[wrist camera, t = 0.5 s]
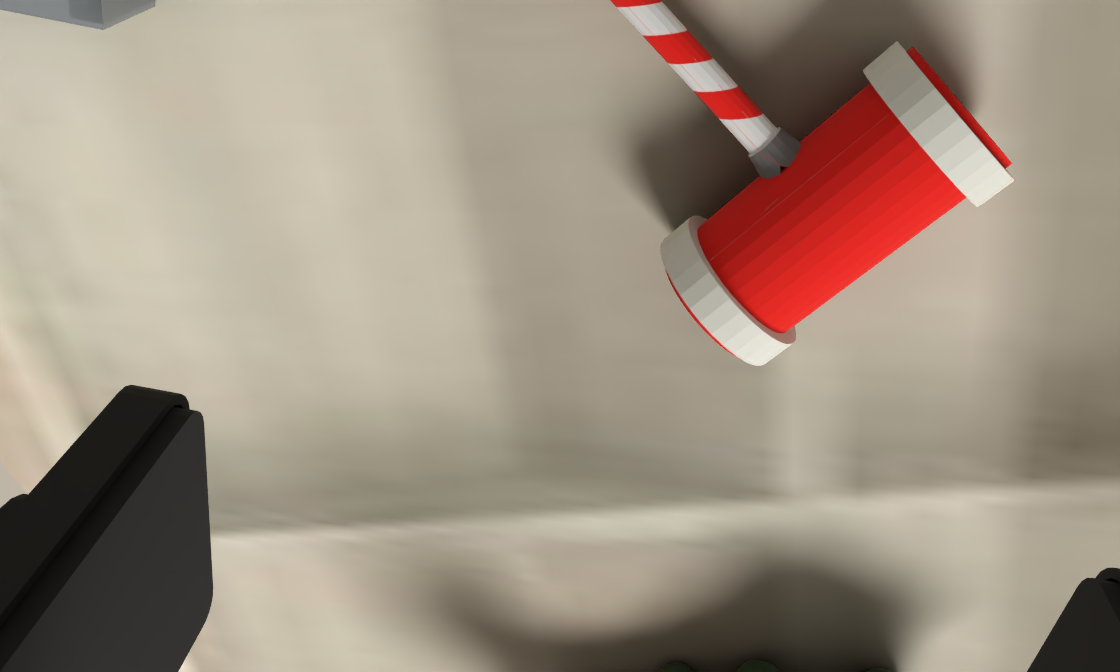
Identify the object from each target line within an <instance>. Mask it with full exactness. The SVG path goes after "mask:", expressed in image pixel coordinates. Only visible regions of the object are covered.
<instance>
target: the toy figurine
mask: <svg viewBox="0 0 1120 672" xmlns="http://www.w3.org/2000/svg"><path fill="white" fill-rule="evenodd" d="M661 672H692V671H691V670H690V669H689V668H688V666H686V665H685V664H684V663H677V662H671V663H669V664H668V665H666V666H664V667H662V669H661ZM737 672H778V670H777V668H776V667H775V666H773V665H772V664H770V663H767V662H764V661H762V660H759V659H755V660H750V661H745V662H744V663H743V664H742V666H741V667H740V668H739V669H738V671H737ZM864 672H893V671H892V670H888V669H883V668H874V669H870V670H866V671H864Z"/></svg>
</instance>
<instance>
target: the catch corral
mask: <svg viewBox="0 0 1120 672" xmlns="http://www.w3.org/2000/svg"><path fill="white" fill-rule="evenodd" d="M154 6H155V0H0V10H5V11H10V12H15V13H21V14H26V15H31V16H36V17H41V18H46V19H51V20H56V21H61V22H66V23H71V24H76V25H81V26H86V27H92V28H97V29H102V30H104V29H106V28H108V27H111V26H113V25H115V24H117V23H119V22H122V21H124V20H126V19H128V18H130V17H132V16H135V15H137V14H139V13H141V12H143V11H145V10H148V9H150V8H152V7H154Z"/></svg>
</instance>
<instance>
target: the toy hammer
mask: <svg viewBox="0 0 1120 672" xmlns="http://www.w3.org/2000/svg"><path fill="white" fill-rule="evenodd" d="M611 2H612V3H613V4H614V5H615V6H616V7H617V8H618V9H619V10H620V11H621V12H622V14H623V15H624V16H625V17H626V18H627V19H628V20H629V21H630V22H631V23H632V24H633V26H634V27H635V28H636V29H637V30H638V31H639V32H640V33H641V34H642V35H643V36H644V38H645V39H646V40H647V41H648V42H649V43H650V44H651V45H652V46H653V47H654V49H655V50H656V51H657V52H658V53H659V54H660V55H661V56H662V57H663V58H664V59H665V61H666V62H667V63H668V64H669V65H670V66H671V67H672V68H673V69H674V70H675V71H676V73H677V74H678V75H679V76H680V77H681V78H682V79H683V80H684V81H685V82H686V83H687V85H688V86H689V87H690V88H691V89H692V90H693V91H694V92H695V93H696V94H697V95H698V97H699V98H700V99H701V100H702V101H703V102H704V103H705V104H706V105H707V106H708V107H709V109H710V110H711V111H712V112H713V113H714V114H715V115H716V116H717V117H718V118H719V120H720V121H721V122H722V123H723V124H724V125H725V126H726V127H727V128H728V130H729V131H730V132H731V133H732V134H733V135H734V136H735V137H736V138H737V139H738V141H739V142H740V143H741V144H742V145H743V146H744V147H745V148H746V149H747V151H748V152H749V155H748V157H749V158H750V160H751V162H752V163H753V165H754V167H755V168H756V170H757V172H758V174H759V175H760V176H759V177H758V178H756V179H755V180H754V181H753V182H752V183H750V184H749V185H748V186H747V187H746V188H744V189H743V190H742V191H741V192H740V193H739V194H737V195H736V196H735V197H734V198H733V199H731V200H730V201H729V202H728V203H727V204H725V205H724V206H723V207H722V208H721V209H720V210H718V211H717V212H716V213H715V214H714V215H712V216H711V217H710V218H709V219H706V218H703V217H701V216H696V215H694V216H691V217H690V218H689V219H687V220H686V221H685V222H684V223H683V224H682V225H680V226H679V227H678V228H677V229H676V230H674V231H673V232H672V233H671V234H670V235H669V236H667V237H666V238H665V239H664V240H663V242H662V243H661V256H662V260H663V263H664V266H665V269H666V273H667V275H668V278H669V281H670V283H671V285H672V287H673V289H674V291H675V292H676V294H677V296H678V297H679V299H680V300H681V302H682V303H683V305H684V306H685V308H686V309H687V311H688V312H689V313H690V314H691V316H692V317H693V318H694V319H695V321H696V322H697V323H698V324H699V325H700V326H701V328H702V329H703V330H704V331H705V332H706V333H707V334H708V335H709V336H710V337H711V338H712V339H713V340H714V341H715V342H717V343H718V344H719V345H720V346H721V347H723V348H724V349H725V350H727V351H728V352H730V353H731V354H733V355H735V356H737V357H739V358H740V359H742V360H743V361H745V362H747V363H750V364H752V365H757V366H760V365H764V364H765V363H767V362H768V361H769V360H771V359H772V358H774V357H775V356H776V355H778V354H779V353H780V352H782V351H783V350H784V349H786V348H787V347H789V346H790V345H791V344H793V342H794V341H795V339H796V332H795V326H794V325H796V324H797V323H798V322H800V321H801V320H802V319H804V318H805V317H806V316H808V315H809V314H810V313H812V312H813V311H815V310H816V309H817V308H819V307H820V306H821V305H823V304H824V303H825V302H827V301H828V300H829V299H831V298H832V297H833V296H835V295H836V294H837V293H839V292H840V291H841V290H843V289H844V288H845V287H847V286H848V285H849V284H851V283H852V282H853V281H855V280H856V279H858V278H859V277H860V276H862V275H863V274H864V273H866V272H867V271H868V270H870V269H871V268H872V267H874V266H875V265H876V264H878V263H879V262H880V261H882V260H883V259H884V258H886V257H887V256H888V255H890V254H891V253H892V252H894V251H895V250H896V249H898V248H899V247H901V246H902V245H903V244H905V243H906V242H907V241H909V240H910V239H911V238H913V237H914V236H915V235H917V234H918V233H919V232H921V231H922V230H923V229H925V228H926V227H927V226H929V225H930V224H931V223H933V222H934V221H935V220H937V219H938V218H939V217H941V216H942V215H943V214H945V213H946V212H948V211H949V210H950V209H952V208H953V207H954V206H956V205H957V204H958V203H960V202H961V201H962V200H964V199H965V198H966V197H967V198H968V199H969V200H970V201H971V202H972V203H973V204H974V205H975V206H977V207H979V206H980V205H982V204H983V203H984V202H986V201H987V200H988V199H990V198H991V197H993V196H994V195H995V194H997V193H998V192H999V191H1001V190H1002V189H1003V188H1005V187H1006V186H1008V185H1009V184H1010V183H1012V182H1013V181H1014V179H1013V177H1012V176H1011V175H1010V173H1009V172H1008V171H1007V170H1006V168H1007V167H1008V166H1009V165H1011V164H1012V163H1011V162H1010V160H1009V159H1008V158H1007V157H1006V156H1005V154H1004V153H1003V152H1002V151H1001V150H1000V148H999V147H998V146H997V145H996V144H995V142H994V141H993V140H992V139H991V138H990V136H989V135H988V134H987V133H986V132H985V131H984V129H983V128H982V127H981V126H980V125H979V123H978V122H977V121H976V120H975V119H974V117H973V116H972V115H971V114H970V113H969V112H968V110H967V109H966V108H965V107H964V106H963V105H962V103H961V102H960V101H959V100H958V99H957V97H956V96H955V95H954V94H953V93H952V92H951V90H950V89H949V88H948V87H947V86H946V84H945V83H944V82H943V81H942V80H941V79H940V77H939V76H938V75H937V74H936V73H935V72H934V70H933V69H932V68H931V67H930V66H929V65H928V63H927V62H926V61H925V60H924V59H923V58H922V56H921V55H920V54H919V53H918V52H917V51H916V49H915V48H914V47H912V48H911V49H909V50H908V51H906V50H905V49H904V48H903V47H902V46H901V45H900V44H899V43H898V42H897V41H896V42H895V43H894V44H893V45H891V46H890V47H889V48H888V49H887V50H886V51H884V52H883V53H882V54H881V55H880V56H879V57H877V58H876V59H875V60H874V61H873V62H871V63H870V64H869V65H868V66H867V67H866V68H864V69H863V72H864V74H865V76H866V77H867V79H868V80H869V82H870V83H869V84H868V85H867V86H865V87H864V88H863V89H862V90H861V91H860V92H858V93H857V94H856V95H855V96H854V97H852V98H851V99H850V100H849V101H848V102H846V103H845V104H844V105H843V106H842V107H841V108H839V109H838V110H837V111H836V112H835V113H833V114H832V115H831V116H830V117H829V118H828V119H826V120H825V121H824V122H823V123H822V124H820V125H819V126H818V127H817V128H816V129H814V130H813V131H812V132H811V133H810V134H809V135H807V136H806V137H805V138H804V139H803V140H801V141H800V142H799V141H798V140H797V139H795V138H794V137H793V136H791V135H790V134H789V133H787V132H786V131H785V130H783V129H782V128H780V127H778V128H776V127H775V126H774V125H773V124H772V123H771V121H770V120H769V119H768V118H767V117H766V116H765V115H764V114H763V113H762V112H761V111H760V110H759V109H758V107H757V106H756V105H755V104H754V103H753V102H752V101H751V100H750V99H749V97H748V96H747V95H746V94H745V93H744V92H743V91H742V90H741V89H740V87H739V86H738V85H737V84H736V83H735V82H734V81H733V80H732V79H731V78H730V76H729V75H728V74H727V73H726V72H725V71H724V70H723V69H722V68H721V66H720V65H719V64H718V63H717V62H716V61H715V60H714V59H713V58H712V56H711V55H710V54H709V53H708V52H707V51H706V50H705V49H704V48H703V47H702V45H701V44H700V43H699V42H698V41H697V40H696V39H695V38H694V37H693V35H692V34H691V33H690V32H689V31H688V30H687V29H686V28H685V27H684V25H683V24H682V23H681V22H680V21H679V20H678V19H677V18H676V17H675V16H674V14H673V13H672V12H671V11H670V10H669V9H668V8H667V7H666V6H665V4H664V3H663V2H662V1H661V0H611Z"/></svg>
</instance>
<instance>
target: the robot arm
mask: <svg viewBox="0 0 1120 672" xmlns="http://www.w3.org/2000/svg"><path fill="white" fill-rule="evenodd" d="M212 597H213V579H212V560H211V542H210V524H209V506H208V488H207V470H206V452H205V433H204V421H203V416H202V414H201V413H200V412H198V411H194V410H190V409H189V403H188V400H187V398H186V397H185V396H184V395H182V394H178V393H173V392H167V391H162V390H157V389H151V388H146V387H141V386H135V385H129V386H125V387H124V388H123V389H122V390H121V391H120V392H119V393H118V394H117V395H116V396H115V397H114V398H113V399H112V401H111V402H110V403H109V404H108V405H107V406H106V407H105V408H104V410H103V411H102V412H101V413H100V414H99V415H98V416H97V417H96V419H95V420H94V421H93V422H92V423H91V424H90V425H89V427H88V428H87V429H86V430H85V431H84V432H83V433H82V434H81V436H80V437H79V438H78V439H77V440H76V441H75V442H74V444H73V445H72V446H71V447H70V448H69V449H68V450H67V451H66V453H65V454H64V455H63V456H62V457H61V458H60V459H59V461H58V462H57V463H56V464H55V465H54V466H53V467H52V468H51V470H50V471H49V472H48V473H47V474H46V475H45V476H44V478H43V479H42V480H41V481H40V482H39V483H38V484H37V485H36V487H35V488H34V489H33V490H32V491H31V492H30V493H29V495H28V494H21V495H19V496H16V497H14V498H12V499H10V500H9V501H8V502H7V503H6V504H5V505H3V506H2V507H1V508H0V672H178V671H179V669H180V667H181V665H182V664H183V662H184V660H185V658H186V656H187V655H188V653H189V651H190V649H191V647H192V645H193V644H194V642H195V640H196V638H197V636H198V635H199V633H200V631H201V629H202V627H203V625H204V623H205V621H206V619H207V616H208V613H209V610H210V607H211V603H212ZM1027 672H1120V569H1118V568H1106V569H1105V570H1103V571H1101V572H1100V573H1099V574H1098V575H1097V577H1096V578H1086V579H1085V580H1083V581H1082V582H1081V583H1080V584H1079V586H1078V587H1077V589H1076V590H1075V592H1074V594H1073V595H1072V597H1071V599H1070V600H1069V602H1068V604H1067V605H1066V607H1065V609H1064V610H1063V612H1062V614H1061V615H1060V617H1059V619H1058V621H1057V622H1056V624H1055V626H1054V627H1053V629H1052V631H1051V632H1050V634H1049V636H1048V637H1047V639H1046V641H1045V642H1044V644H1043V646H1042V647H1041V649H1040V651H1039V652H1038V654H1037V656H1036V658H1035V659H1034V661H1033V663H1032V664H1031V666H1030V668H1029V669H1028V671H1027Z"/></svg>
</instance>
